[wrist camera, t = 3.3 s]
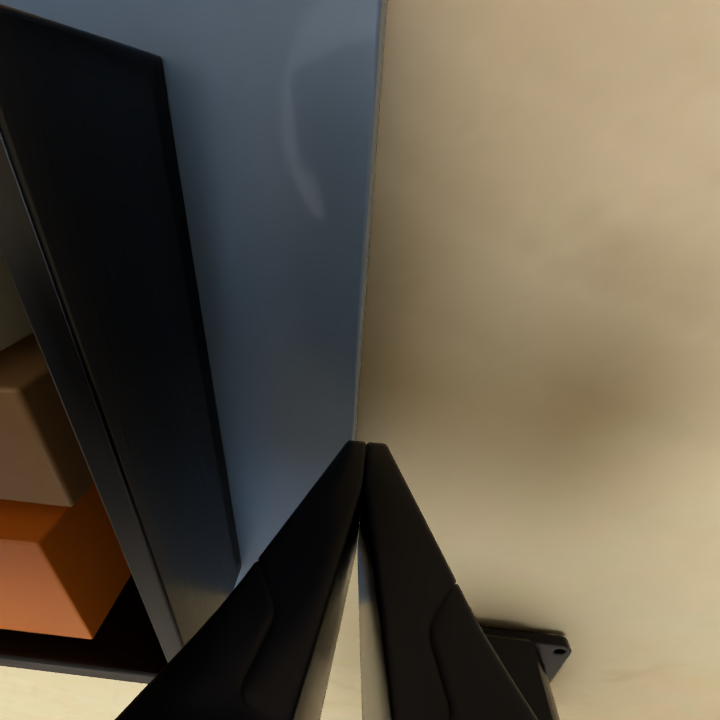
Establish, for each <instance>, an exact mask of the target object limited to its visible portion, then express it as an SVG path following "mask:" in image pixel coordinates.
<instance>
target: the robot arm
mask: <svg viewBox="0 0 720 720" xmlns="http://www.w3.org/2000/svg"><path fill="white" fill-rule="evenodd" d="M366 448H367V450H366ZM360 512H361V513H360ZM359 522H360V524H359ZM358 532H359V535H358ZM357 541H358V585H359V622H360V658H361V695H362V720H560V719H559V715H558V712H557V708H556V705H555V701H554V697H553V694H552V690H551V687H550V682H551V681H552V679H553V678H554V676H555V675H556V673H557V672H558V671H559V669H560V668H561V666H562V665H563V663H564V662H565V661H566V659H567V658H568V656H569V655H570V653H571V648H570V645H569V642H568V640H567V639H566V638H565V637H562V636H555V635H546V634H538V633H529V632H520V631H511V630H503V629H494V628H485V627H480V625H479V623H478V621H477V619H476V618H475V616H474V614H473V612H472V610H471V608H470V607H469V605H468V603H467V601H466V599H465V597H464V595H463V593H462V591H461V589H460V587H459V585H458V584H455V583H456V580H455V578H454V576H453V574H452V572H451V570H450V568H449V566H448V564H447V562H446V560H445V558H444V556H443V554H442V552H441V550H440V548H439V546H438V544H437V542H436V540H435V538H434V536H433V535H432V533H431V531H430V529H429V527H428V525H427V523H426V521H425V519H424V517H423V515H422V513H421V511H420V509H419V507H418V505H417V503H416V501H415V499H414V497H413V495H412V493H411V491H410V489H409V487H408V486H407V484H406V482H405V480H404V478H403V476H402V474H401V472H400V470H399V468H398V466H397V464H396V462H395V460H394V458H393V456H392V454H391V452H390V450H389V448H388V447H387V445H386V444H383V443H373V442H369V443H368V444H366V442H364V441H354V440H349V441H347V442H346V443H345V445H344V446H343V447H342V449H341V450H340V451H339V453H338V454H337V455H336V457H335V458H334V459H333V461H332V462H331V463H330V465H329V466H328V467H327V468H326V470H325V471H324V472H323V474H322V475H321V476H320V478H319V479H318V480H317V482H316V483H315V484H314V486H313V487H312V488H311V489H310V491H309V492H308V493H307V495H306V496H305V497H304V499H303V500H302V501H301V503H300V504H299V505H298V507H297V508H296V509H295V511H294V512H293V513H292V514H291V516H290V517H289V518H288V520H287V521H286V522H285V524H284V525H283V526H282V528H281V529H280V530H279V532H278V533H277V534H276V536H275V537H274V538H273V539H272V541H271V542H270V543H269V545H268V546H267V547H266V549H265V550H264V551H263V553H262V554H261V555H260V557H259V558H258V561H256V562H255V563H254V564H253V565H252V567H251V568H250V569H249V571H248V572H247V573H246V575H245V576H244V577H243V579H242V580H241V581H240V582H239V584H238V585H237V586H236V587H235V589H234V590H233V591H232V592H231V594H230V595H229V596H228V597H227V598H226V600H225V601H224V602H223V603H222V605H221V606H220V607H219V608H218V609H217V610H216V612H215V613H214V614H213V615H212V616H211V617H210V618H209V619H208V620H207V622H206V623H205V624H204V625H203V626H202V627H201V628H200V629H199V630H198V632H197V633H196V634H195V635H194V636H193V637H192V638H191V639H190V640H189V641H188V642H187V644H186V645H185V646H184V647H183V648H182V649H181V650H180V651H179V652H178V653H177V654H176V655H175V656H174V657H173V658H172V659H171V661H170V662H169V663H168V664H167V665H166V666H165V667H164V668H163V669H162V670H161V671H160V672H159V673H158V674H157V675H156V677H155V678H154V679H153V680H152V681H151V682H150V683H149V684H148V685H147V686H146V687H145V688H144V689H143V690H142V691H141V692H140V694H139V695H138V696H137V697H136V698H135V699H134V700H133V701H132V702H131V703H130V704H129V705H128V706H127V707H126V708H125V710H124V711H123V712H122V713H121V714H120V715H119V716H118V717H117V718H116V719H115V720H320V717H321V712H322V708H323V703H324V698H325V694H326V689H327V684H328V680H329V675H330V670H331V666H332V661H333V656H334V652H335V647H336V642H337V638H338V633H339V629H340V624H341V619H342V615H343V610H344V605H345V601H346V596H347V591H348V587H349V582H350V577H351V573H352V568H353V563H354V559H355V553H356V548H357Z"/></svg>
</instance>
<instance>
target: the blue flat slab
mask: <svg viewBox="0 0 720 720" xmlns="http://www.w3.org/2000/svg"><path fill="white" fill-rule="evenodd" d="M0 3H1V4H4V5H7V6H10V7H13V8H16V9H20V10H23V11H26V12H29V13H32V14H35V15H38V16H41V17H44V18H47V19H50V20H53V21H56V22H59V23H62V24H65V25H68V26H71V27H74V28H77V29H80V30H83V31H86V32H89V33H93V34H96V35H99V36H102V37H105V38H108V39H111V40H114V41H117V42H120V43H123V44H126V45H129V46H132V47H135V48H138V49H141V50H144V51H147V52H150V53H153V54H156V55H159V56H161V58H162V61H163V68H164V74H165V80H166V87H167V93H168V103H169V110H170V116H171V122H172V129H173V135H174V141H175V148H176V154H177V160H178V167H179V173H180V179H181V186H182V192H183V198H184V205H185V211H186V217H187V223H188V230H189V236H190V242H191V249H192V255H193V261H194V268H195V274H196V280H197V287H198V293H199V299H200V306H201V312H202V318H203V325H204V331H205V337H206V344H207V350H208V356H209V363H210V369H211V375H212V382H213V388H214V394H215V401H216V407H217V413H218V420H219V426H220V432H221V439H222V445H223V451H224V458H225V464H226V470H227V477H228V483H229V489H230V496H231V502H232V508H233V515H234V521H235V527H236V534H237V540H238V546H239V553H240V559H241V566H242V567H241V570H240V572H239V575H238V578H237V581H236V584H235V587H236V586H237V585H238V584H239V582H240V581H241V580H242V579H243V577H244V576H245V575H246V573H247V572H248V571H249V569H250V568H251V567H252V565H253V564H254V563H255V562H256V561H258V558H259V557H260V555H261V554H262V553H263V551H264V550H265V549H266V547H267V546H268V545H269V543H270V542H271V541H272V539H273V538H274V537H275V536H276V534H277V533H278V532H279V530H280V529H281V528H282V526H283V525H284V524H285V522H286V521H287V520H288V518H289V517H290V516H291V514H292V513H293V512H294V511H295V509H296V508H297V507H298V505H299V504H300V503H301V501H302V500H303V499H304V497H305V496H306V495H307V493H308V492H309V491H310V489H311V488H312V487H313V486H314V484H315V483H316V482H317V480H318V479H319V478H320V476H321V475H322V474H323V472H324V471H325V470H326V468H327V467H328V466H329V465H330V463H331V462H332V461H333V459H334V458H335V457H336V455H337V454H338V453H339V451H340V450H341V449H342V447H343V446H344V445H345V443H346V442H347V441H349V440H354V441H355V439H356V425H357V411H358V397H359V383H360V370H361V356H362V342H363V328H364V314H365V300H366V286H367V272H368V259H369V245H370V231H371V217H372V203H373V189H374V175H375V161H376V148H377V134H378V120H379V106H380V92H381V78H382V64H383V50H384V36H385V23H386V9H387V0H0ZM235 587H234V589H235ZM234 589H233V590H234Z"/></svg>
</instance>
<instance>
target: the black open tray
mask: <svg viewBox="0 0 720 720" xmlns="http://www.w3.org/2000/svg"><path fill="white" fill-rule="evenodd" d="M241 567H242V566H241V559H240V553H239V546H238V540H237V534H236V527H235V521H234V515H233V508H232V502H231V496H230V489H229V483H228V477H227V470H226V464H225V458H224V451H223V445H222V439H221V432H220V426H219V420H218V413H217V407H216V401H215V394H214V388H213V382H212V375H211V369H210V363H209V356H208V350H207V344H206V337H205V331H204V325H203V318H202V312H201V306H200V299H199V293H198V287H197V280H196V274H195V268H194V261H193V255H192V249H191V242H190V236H189V230H188V223H187V217H186V211H185V205H184V198H183V192H182V186H181V179H180V173H179V167H178V160H177V154H176V148H175V141H174V135H173V129H172V122H171V116H170V110H169V103H168V93H167V87H166V80H165V74H164V68H163V61H162V58H161V56H159V55H156V54H153V53H150V52H147V51H144V50H141V49H138V48H135V47H132V46H129V45H126V44H123V43H120V42H117V41H114V40H111V39H108V38H105V37H102V36H99V35H96V34H93V33H89V32H86V31H83V30H80V29H77V28H74V27H71V26H68V25H65V24H62V23H59V22H56V21H53V20H50V19H47V18H44V17H41V16H38V15H35V14H32V13H29V12H26V11H23V10H20V9H16V8H13V7H10V6H7V5H4V4H1V3H0V666H8V667H16V668H24V669H32V670H40V671H49V672H57V673H65V674H73V675H81V676H89V677H97V678H105V679H113V680H121V681H129V682H138V683H146V684H149V683H150V682H151V681H152V680H153V679H154V678H155V677H156V675H157V674H158V673H159V672H160V671H161V670H162V669H163V668H164V667H165V666H166V665H167V664H168V663H169V662H170V661H171V659H172V658H173V657H174V656H175V655H176V654H177V653H178V652H179V651H180V650H181V649H182V648H183V647H184V646H185V645H186V644H187V642H188V641H189V640H190V639H191V638H192V637H193V636H194V635H195V634H196V633H197V632H198V630H199V629H200V628H201V627H202V626H203V625H204V624H205V623H206V622H207V620H208V619H209V618H210V617H211V616H212V615H213V614H214V613H215V612H216V610H217V609H218V608H219V607H220V606H221V605H222V603H223V602H224V601H225V600H226V598H227V597H228V596H229V595H230V594H231V592H232V591H233V589H234V587H235V584H236V581H237V578H238V575H239V572H240V570H241Z"/></svg>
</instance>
